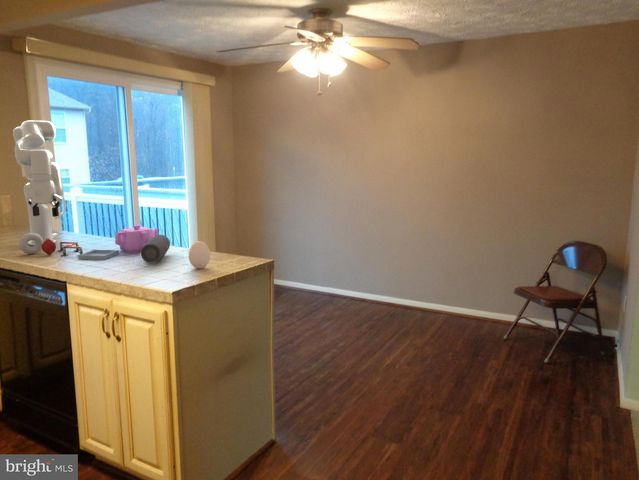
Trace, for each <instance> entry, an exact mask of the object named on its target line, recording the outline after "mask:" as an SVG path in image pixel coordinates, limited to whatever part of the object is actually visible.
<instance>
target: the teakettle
mask: <svg viewBox="0 0 639 480" xmlns="http://www.w3.org/2000/svg"><path fill="white" fill-rule="evenodd" d="M159 232H160V228H154V229H153V228H150V227H146V226H141V224H134V225H133V226H132V227H130V228H124V229H123V228H122V229H121V230H120V231H118V232H115V239H114V240H115V241H114V244H115V245H116V246H117V245H118V246H119V248H120V251H122V252H125V253H126V254H127V253H128V254H138V253H141V249H142V247H143V246H144V245H145V244H146V243H147V242H148V241H149V240H150V239H151V238H153V237H154V236H156V235H159Z"/></svg>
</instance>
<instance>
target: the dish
mask: <svg viewBox="0 0 639 480" xmlns="http://www.w3.org/2000/svg"><path fill="white" fill-rule="evenodd" d="M119 254H120V251H119V249H91V250H89V251H85V252H83V254H80V253H79V254H77V258H78V260H86V259H88V260H93V261H106V260H108V259H110V258H113V257H115V256H118V255H119ZM88 260H87V261H88Z"/></svg>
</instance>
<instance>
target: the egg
mask: <svg viewBox="0 0 639 480" xmlns="http://www.w3.org/2000/svg"><path fill="white" fill-rule="evenodd" d="M188 260H189V263H190V264H191V266H192V267H194V268H195V269H203V268H205V267H206V266H207V265H208V264H209V262H210V261H211V252H210V248H209V247H208V245H207V244H206V243H205V242H204V241H202V240H197V241H195V242H193V244H192V245H191V246H190V248H189V250H188Z"/></svg>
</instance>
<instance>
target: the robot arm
mask: <svg viewBox="0 0 639 480" xmlns="http://www.w3.org/2000/svg"><path fill="white" fill-rule="evenodd" d="M12 131H13V132H12V135H13V139H14V143H15V145H14V156H15V160H16V163H17V164H18V165H19V166H22V167H23V171H24V176H25V178H26V179H27V180H29V181H30V182H27V183H26V184H24V186H23V194H24V197H25V202H26V207H27V213H28V214H27V215H28V223H29V231H30V232H29V233H36V234H38V235H40V236H41V237H42V239H43V242H44V241H46V238H49V239H50V240H52V241H53V242H54V243H55V244H56V243H57V240H56V239H54V238H56V237H57V236H58V234H57V233H56V232H54V233H53V230H52V229H53V228H52V222H51V221H52V220H51V219H52V218H51V214H52V217H53V218H54V217H60V214H59V213H60V212H59V207H60V205H61V204H62V202H63V199H64V194H65V193H64V191H65V190H64V186H63V178H62V174H61V173H62V172H61V167H60V166H59V164H58V163H57V162H54V158H53V157H54V156H53V152H51V151H50V150H48V149H43V146H44V145H46V144H47V145H48V144H52V143H53V142H54V141H55V138H56V136H57V135H56V134H57V132H56V127H55V125H54V123H53V122H51V121H49V120H25V121H23V122H22V123H21V125H20V126H17V127H15V128H14V129H13V130H12ZM41 148H42V149H41ZM48 205H50V206H51V207H52V208H51V210H50V208H49V206H48ZM50 211H51V212H50ZM34 245H35V241H34V240H30V241H29V242H28V246H34Z"/></svg>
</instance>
